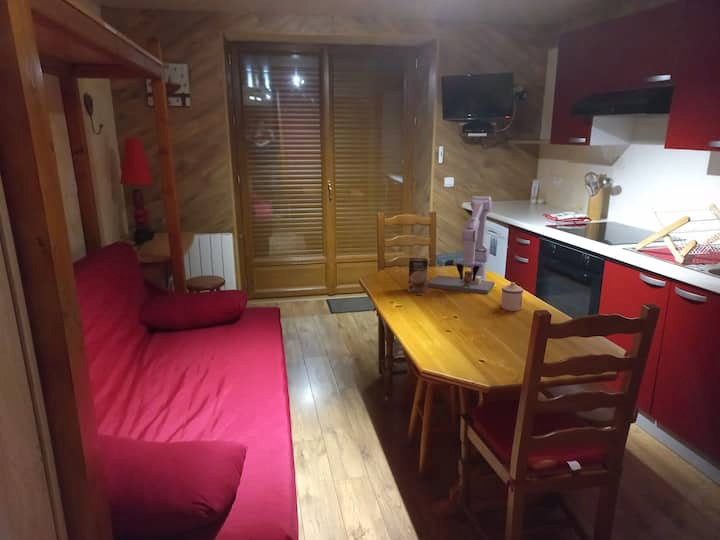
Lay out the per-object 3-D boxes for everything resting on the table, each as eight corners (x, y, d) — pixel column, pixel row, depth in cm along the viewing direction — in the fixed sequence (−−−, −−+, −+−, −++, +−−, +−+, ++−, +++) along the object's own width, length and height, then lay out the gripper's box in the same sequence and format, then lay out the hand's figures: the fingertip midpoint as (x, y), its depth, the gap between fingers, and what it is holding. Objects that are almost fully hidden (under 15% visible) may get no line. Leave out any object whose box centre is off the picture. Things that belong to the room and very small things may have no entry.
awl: (462, 285, 244) (464, 272, 242) (464, 283, 247) (465, 270, 245) (470, 286, 243) (471, 273, 241) (471, 284, 246) (472, 271, 244)
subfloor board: (437, 278, 264) (437, 275, 264) (494, 285, 251) (494, 281, 251) (428, 286, 250) (428, 283, 250) (487, 294, 238) (487, 290, 237)
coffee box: (408, 292, 242) (408, 260, 238) (408, 288, 248) (408, 257, 244) (426, 292, 241) (427, 261, 237) (426, 288, 247) (427, 257, 243)
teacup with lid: (524, 311, 214) (526, 285, 211) (503, 311, 214) (505, 286, 211) (516, 302, 226) (518, 278, 223) (496, 302, 226) (497, 278, 223)
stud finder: (465, 279, 255) (466, 274, 254) (481, 281, 251) (481, 275, 250) (463, 282, 250) (463, 276, 249) (478, 284, 247) (479, 278, 246)
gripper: (452, 253, 240) (451, 280, 244) (481, 256, 234) (480, 283, 238) (456, 250, 247) (454, 276, 250) (485, 253, 240) (483, 279, 244)
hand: (467, 279), depth 244 cm, fingers open, 5 cm apart
